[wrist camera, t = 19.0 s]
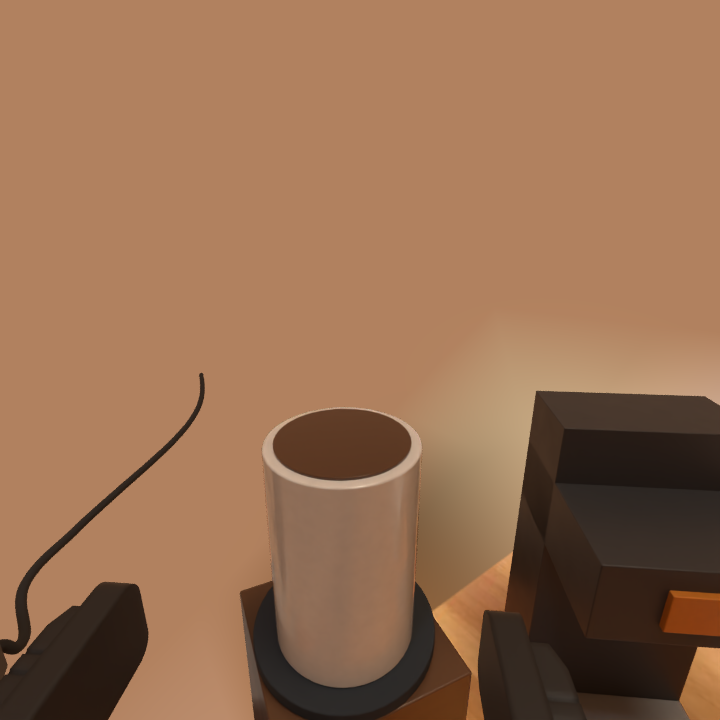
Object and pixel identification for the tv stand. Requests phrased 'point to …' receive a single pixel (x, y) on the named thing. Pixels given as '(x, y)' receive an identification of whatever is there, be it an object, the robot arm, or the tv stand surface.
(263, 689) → the brown box
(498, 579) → the tv stand surface
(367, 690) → the coaster
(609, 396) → the coffee machine
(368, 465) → the white cup
